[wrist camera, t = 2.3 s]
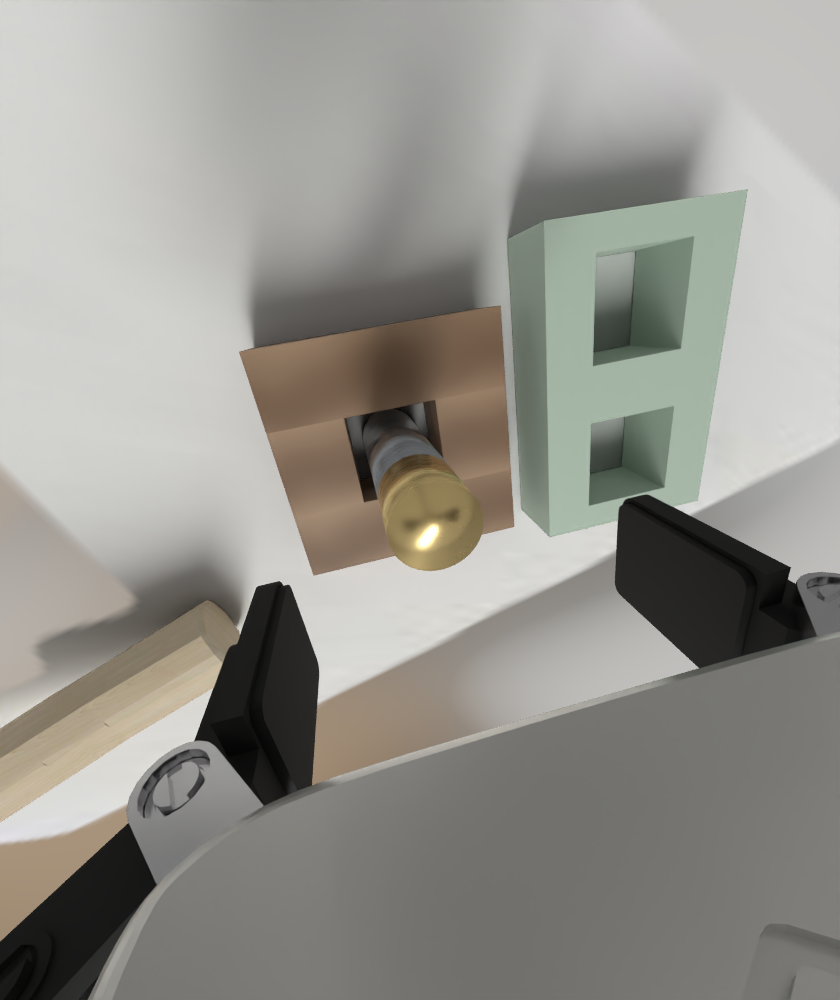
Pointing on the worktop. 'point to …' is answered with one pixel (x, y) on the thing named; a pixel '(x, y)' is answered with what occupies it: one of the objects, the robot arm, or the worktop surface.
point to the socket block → (375, 387)
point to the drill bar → (419, 495)
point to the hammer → (112, 704)
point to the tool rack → (619, 354)
